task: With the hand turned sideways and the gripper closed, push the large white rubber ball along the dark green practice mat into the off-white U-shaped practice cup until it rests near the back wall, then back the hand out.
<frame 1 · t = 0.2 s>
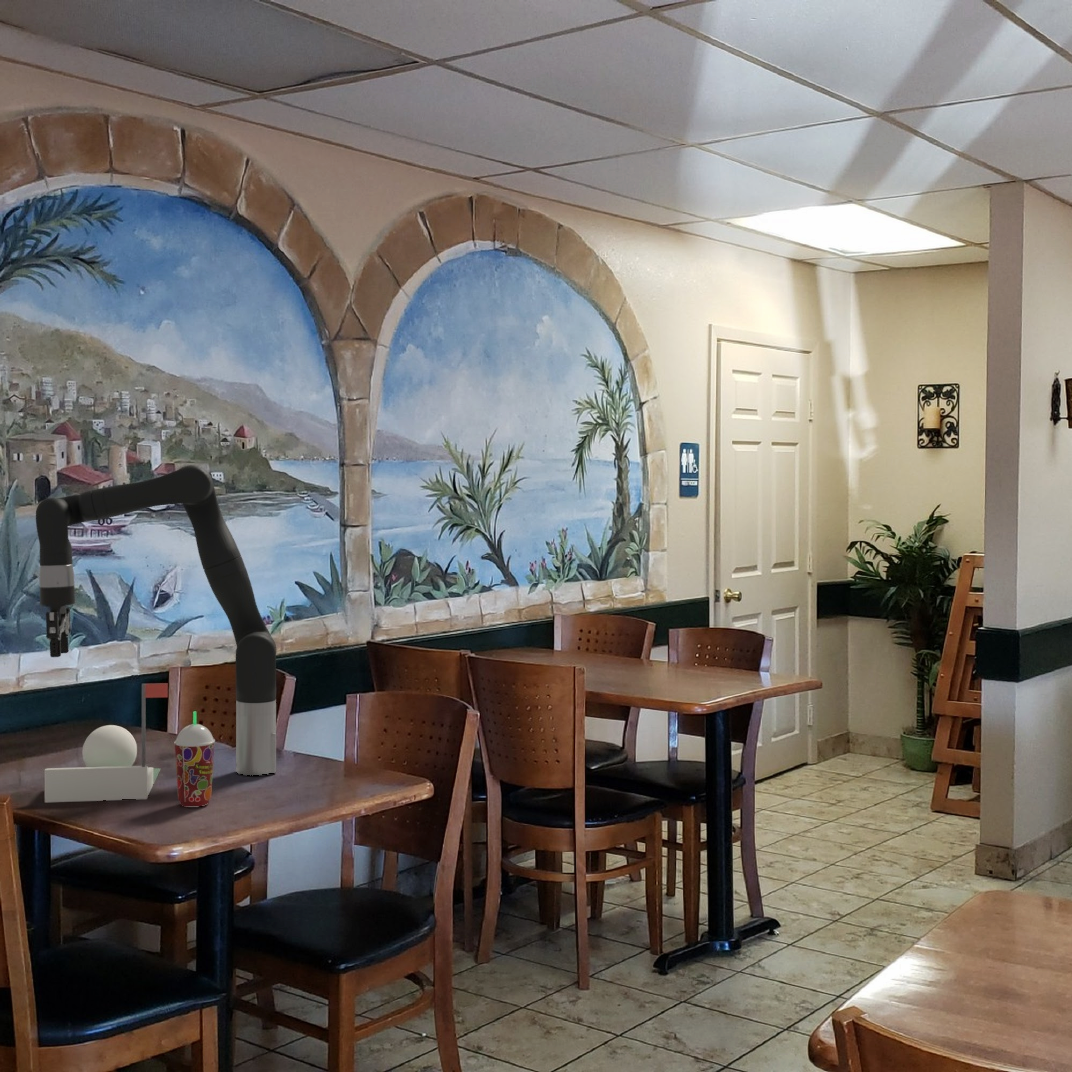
hand: (59, 655, 297), 29 cm above the table, tool pointing down, fingers open, 8 cm apart
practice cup: (102, 790, 286), on the table
smoothie: (194, 805, 275), on the table
ball: (109, 751, 298), point 6 cm above the table, touching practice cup
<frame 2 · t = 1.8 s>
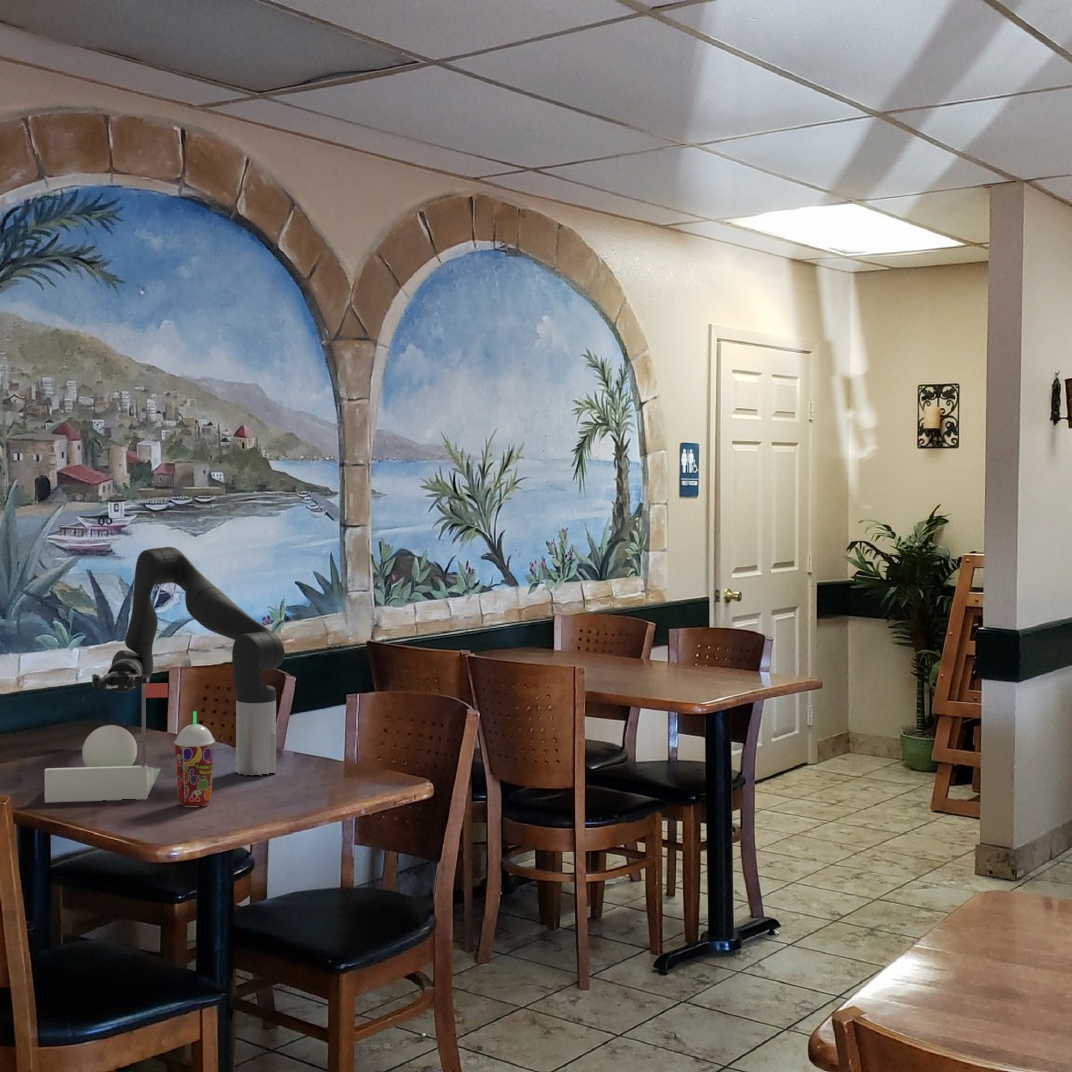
hand: (115, 685, 308), 20 cm above the table, tool horizontal, fingers open, 5 cm apart
nothing on the table moved.
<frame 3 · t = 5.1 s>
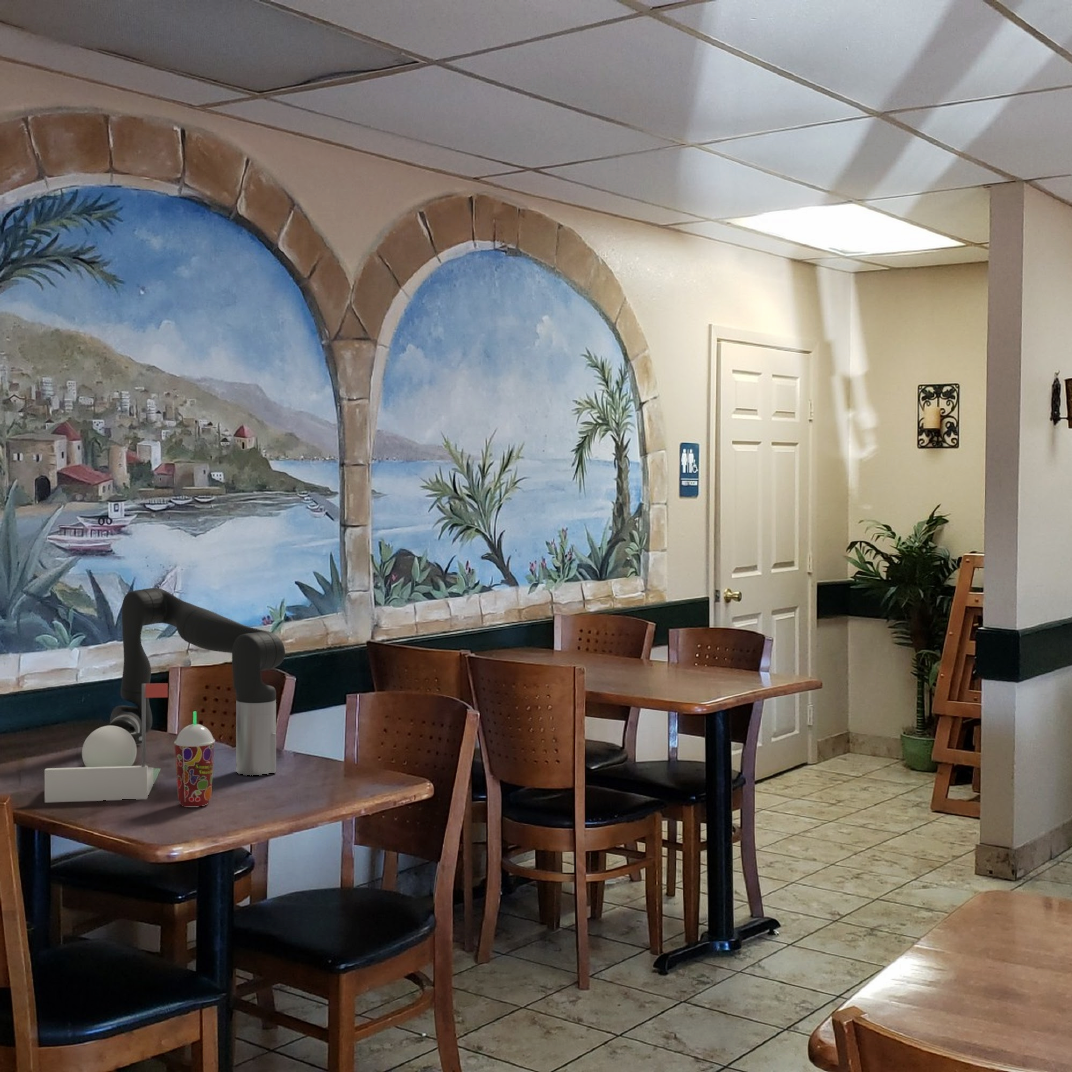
hand: (113, 745, 303), 7 cm above the table, tool horizontal, fingers closed
ball: (109, 751, 298), point 6 cm above the table, touching gripper, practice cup
everything else where it was.
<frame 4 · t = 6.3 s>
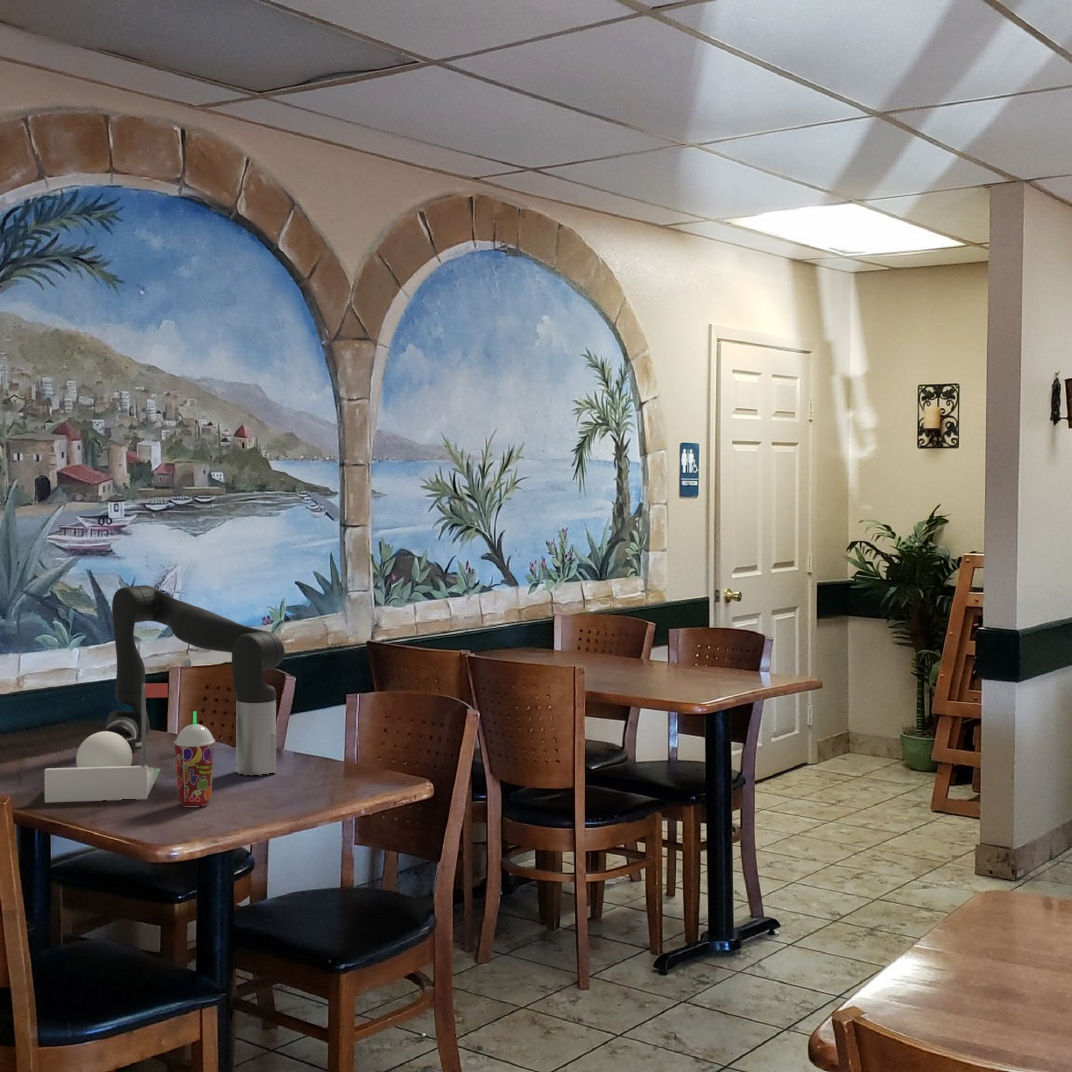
hand: (109, 751, 297), 7 cm above the table, tool horizontal, fingers closed
ball: (104, 758, 291), point 6 cm above the table, tilted 72°, touching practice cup
everything else where it was.
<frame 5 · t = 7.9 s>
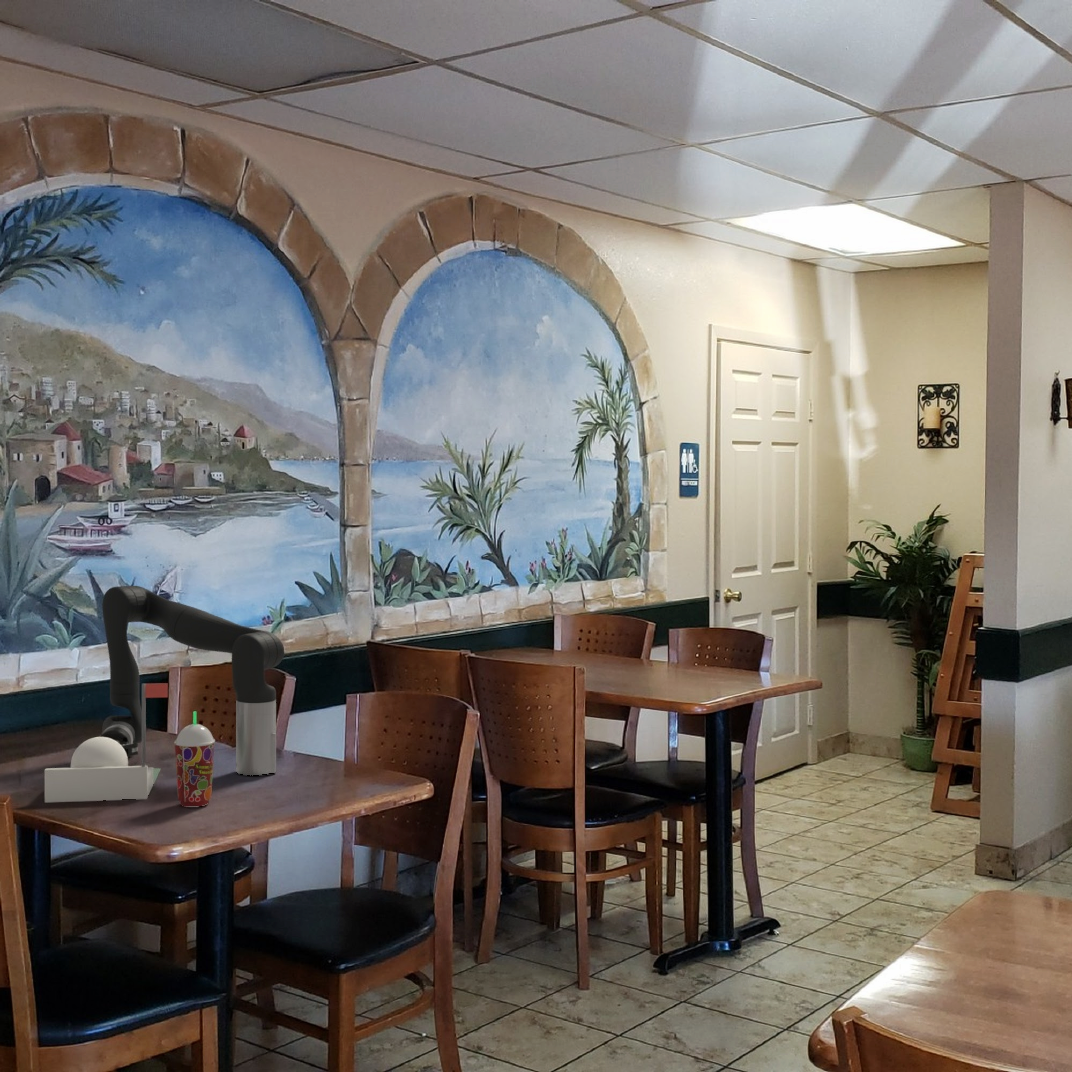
hand: (105, 757, 290), 7 cm above the table, tool horizontal, fingers closed
ball: (99, 764, 284), point 6 cm above the table, tilted 134°, touching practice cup
everything else where it was.
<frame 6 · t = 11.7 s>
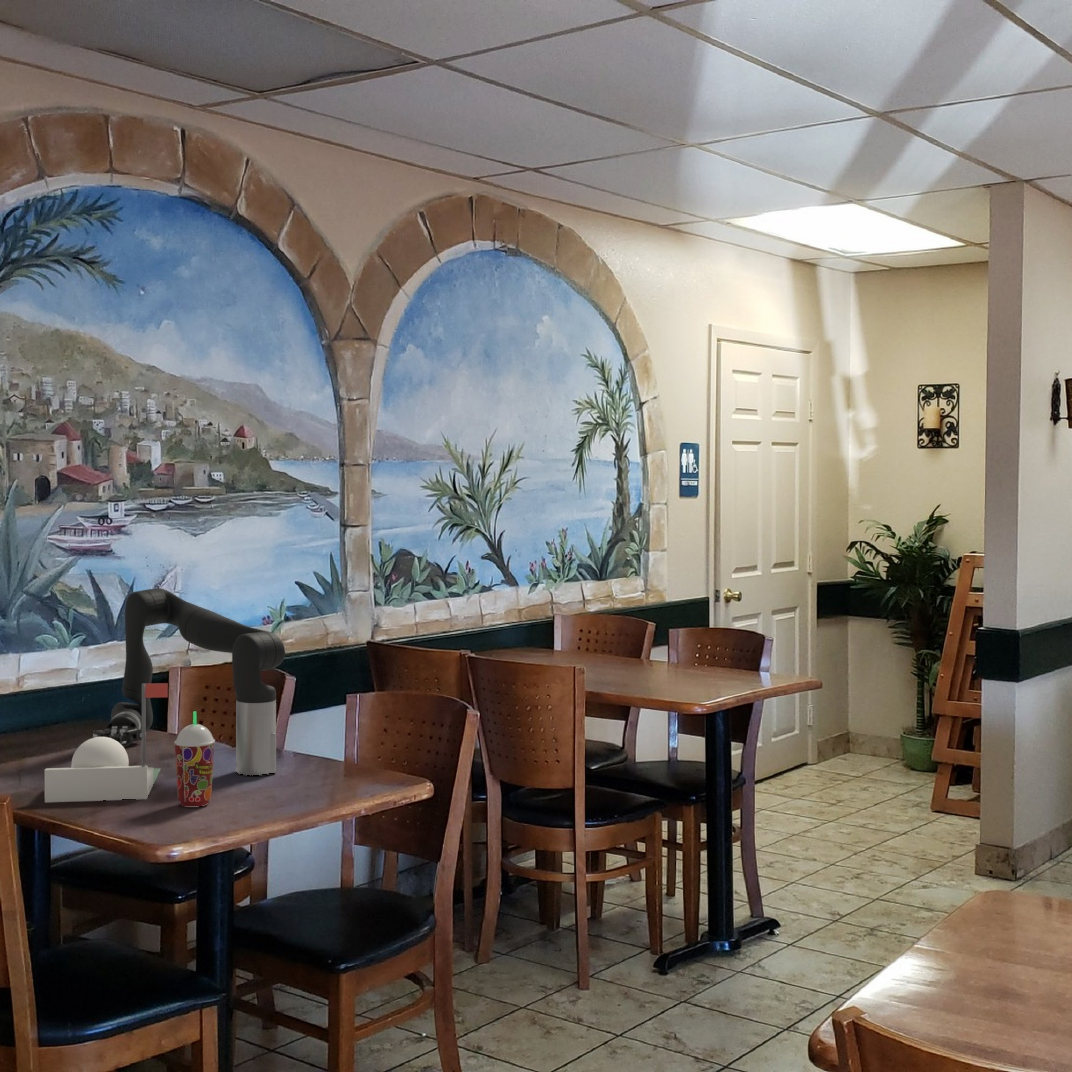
hand: (114, 741, 306), 7 cm above the table, tool horizontal, fingers closed
nothing on the table moved.
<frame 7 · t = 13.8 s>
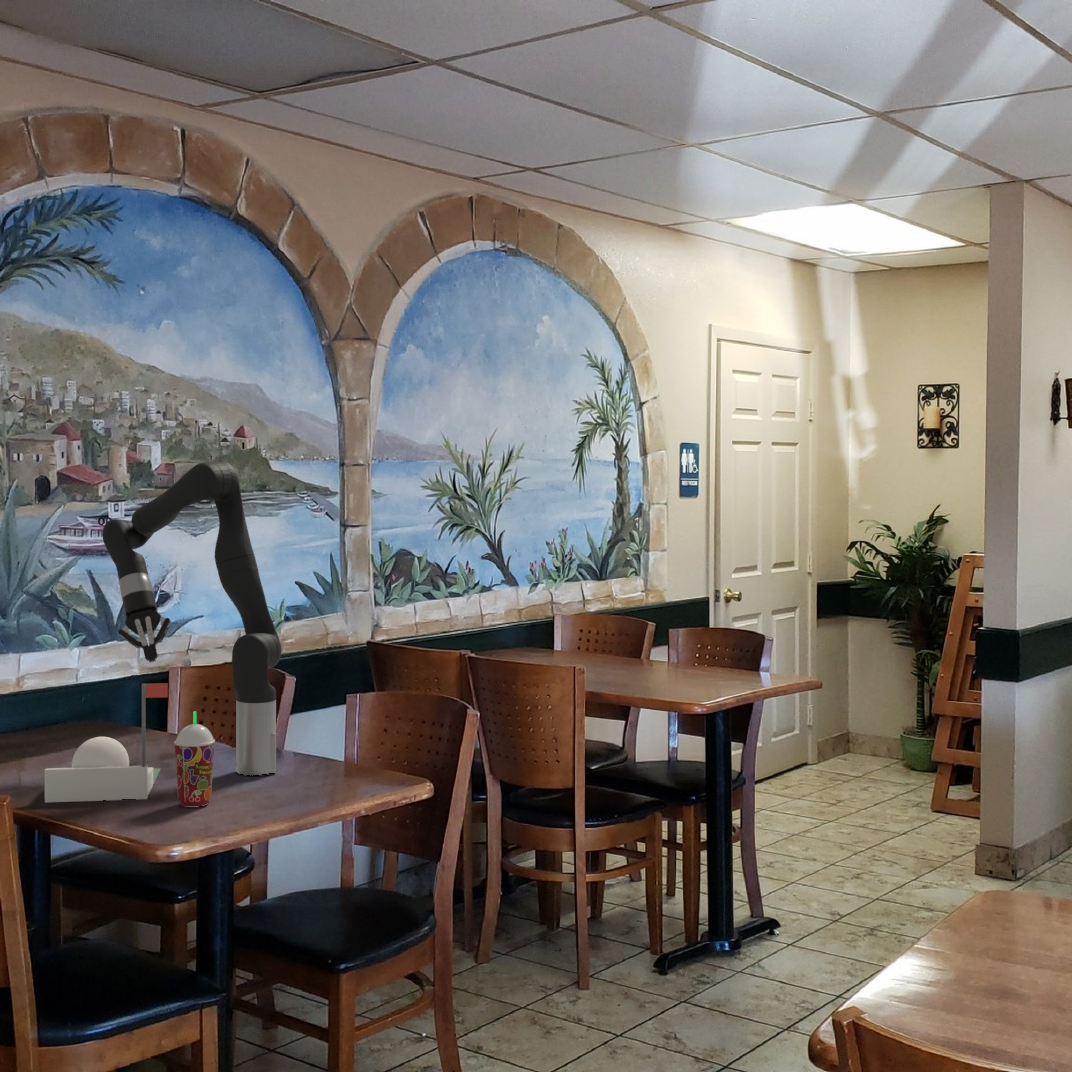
hand: (152, 661, 311), 26 cm above the table, tool tilted 25°, fingers closed
nothing on the table moved.
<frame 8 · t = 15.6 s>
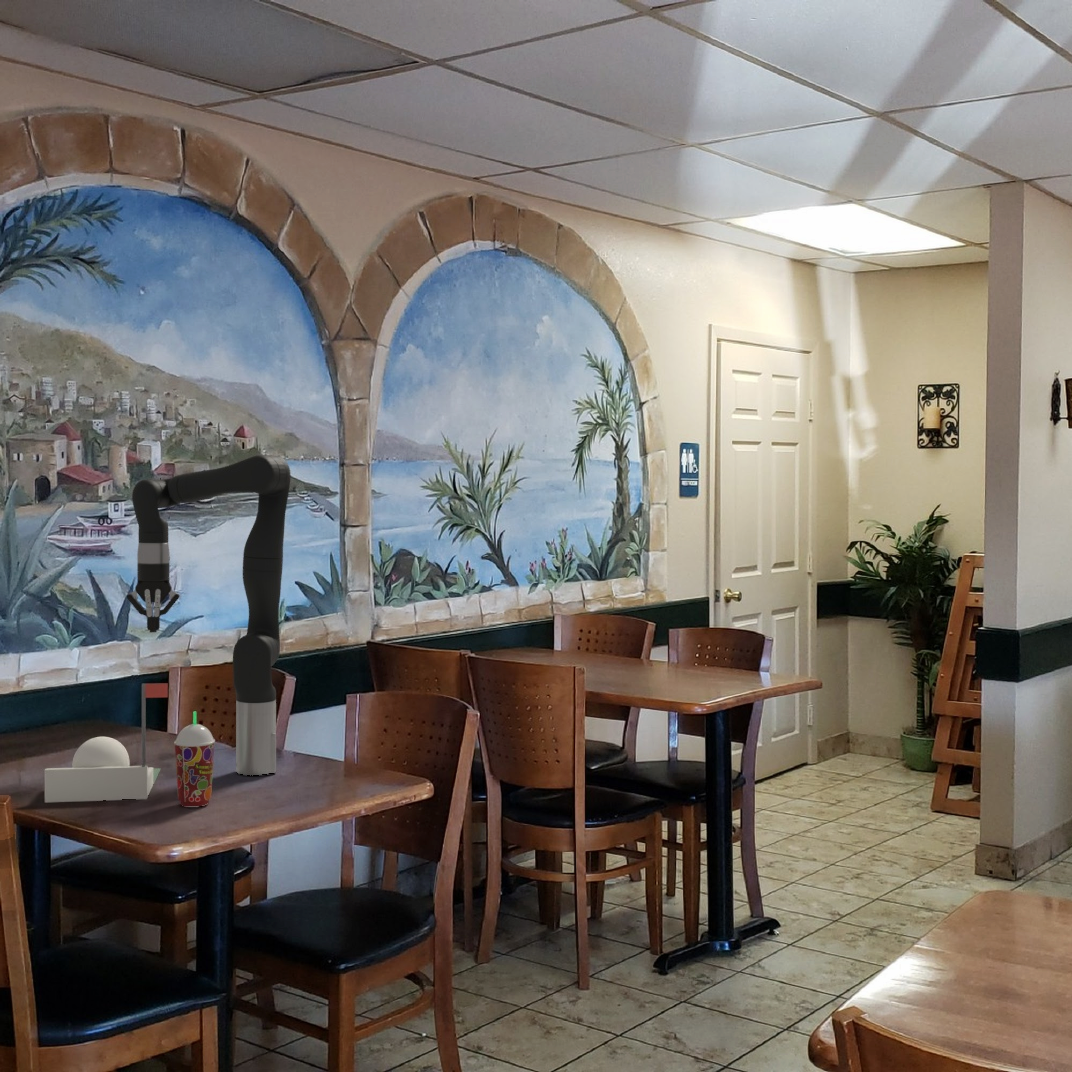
hand: (153, 632, 315), 32 cm above the table, tool pointing down, fingers closed
nothing on the table moved.
at the end: ball inside the target area on the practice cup (1.3 cm from its centre), point 6.3 cm above the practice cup's base; ball moved 13.8 cm from its start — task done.
